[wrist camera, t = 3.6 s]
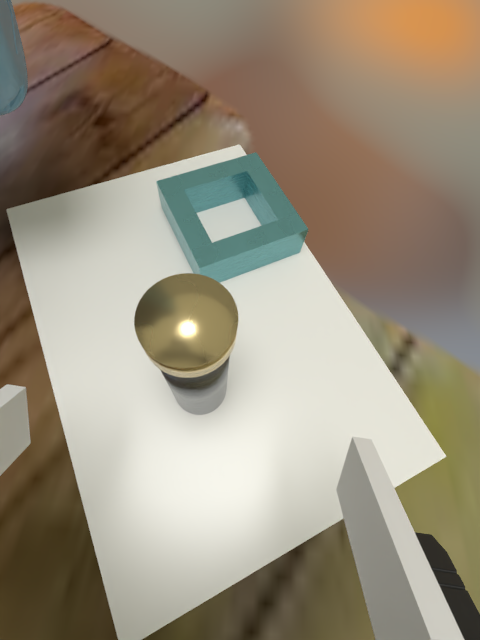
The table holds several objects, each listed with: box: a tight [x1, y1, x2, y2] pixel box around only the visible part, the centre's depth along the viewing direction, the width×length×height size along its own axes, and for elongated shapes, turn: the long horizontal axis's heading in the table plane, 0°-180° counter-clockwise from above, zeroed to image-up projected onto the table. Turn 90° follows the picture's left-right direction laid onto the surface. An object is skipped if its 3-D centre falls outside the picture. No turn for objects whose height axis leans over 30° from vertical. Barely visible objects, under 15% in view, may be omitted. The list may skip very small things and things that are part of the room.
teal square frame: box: [156, 153, 308, 283], centre depth 28 cm, size 9×9×3 cm
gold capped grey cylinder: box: [134, 273, 238, 415], centre depth 19 cm, size 4×4×12 cm
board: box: [6, 145, 446, 640], centre depth 26 cm, size 32×22×1 cm
